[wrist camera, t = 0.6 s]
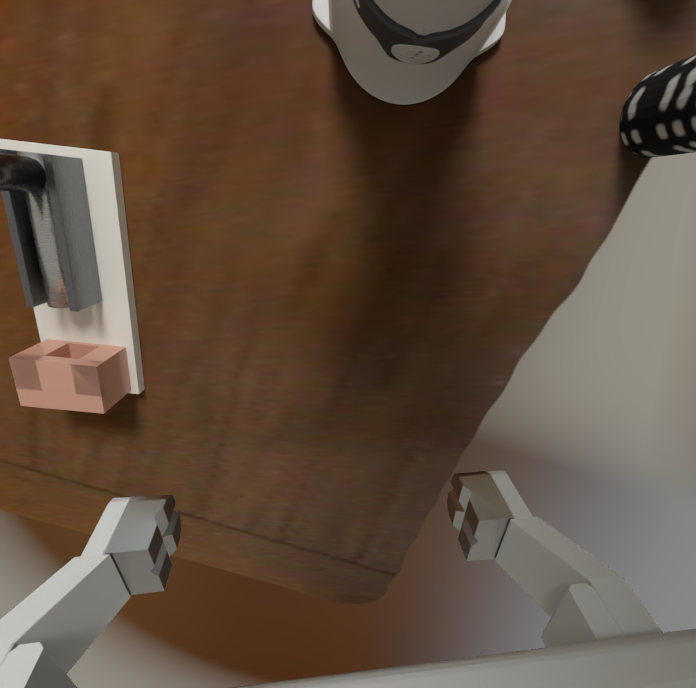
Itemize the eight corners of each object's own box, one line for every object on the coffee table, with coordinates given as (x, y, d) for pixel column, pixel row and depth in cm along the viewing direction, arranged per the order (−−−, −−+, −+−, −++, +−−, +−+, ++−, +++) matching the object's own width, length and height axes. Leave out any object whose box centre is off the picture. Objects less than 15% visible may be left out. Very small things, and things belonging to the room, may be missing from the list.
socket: (48, 338, 48) (8, 357, 43) (125, 346, 49) (96, 366, 43) (56, 382, 51) (20, 405, 45) (131, 389, 51) (104, 413, 46)
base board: (8, 140, 41) (-4, 138, 40) (118, 153, 42) (110, 151, 40) (58, 380, 52) (50, 385, 51) (144, 389, 53) (139, 394, 51)
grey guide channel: (29, 152, 40) (-9, 147, 36) (82, 158, 40) (50, 154, 36) (56, 295, 46) (26, 306, 42) (102, 300, 46) (77, 311, 42)
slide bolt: (33, 152, 39) (-124, 133, 26) (64, 156, 40) (-77, 138, 27) (60, 299, 45) (-56, 341, 32) (87, 301, 46) (-19, 345, 33)
